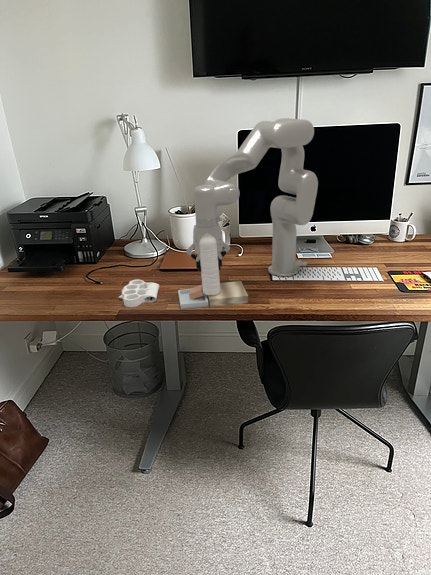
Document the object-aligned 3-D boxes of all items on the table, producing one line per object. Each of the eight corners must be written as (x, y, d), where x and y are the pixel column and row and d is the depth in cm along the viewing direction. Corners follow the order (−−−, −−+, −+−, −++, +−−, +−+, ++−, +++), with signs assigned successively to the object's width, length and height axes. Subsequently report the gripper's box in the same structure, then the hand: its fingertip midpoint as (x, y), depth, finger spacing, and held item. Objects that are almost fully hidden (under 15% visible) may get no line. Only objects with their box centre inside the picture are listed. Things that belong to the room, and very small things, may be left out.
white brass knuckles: (155, 307, 165) (115, 308, 165) (160, 286, 181) (123, 287, 181) (154, 298, 163) (114, 300, 163) (159, 278, 179) (122, 280, 179)
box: (204, 292, 173) (204, 287, 172) (208, 306, 162) (208, 301, 161) (178, 294, 172) (178, 290, 171) (180, 309, 161) (180, 304, 160)
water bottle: (222, 294, 163) (217, 228, 152) (204, 297, 162) (198, 231, 151) (217, 284, 171) (212, 221, 160) (200, 286, 170) (194, 223, 159)
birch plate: (241, 287, 175) (240, 280, 174) (248, 303, 163) (248, 295, 162) (205, 291, 174) (205, 284, 172) (210, 307, 162) (209, 299, 161)
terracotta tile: (205, 289, 170) (203, 284, 169) (203, 295, 165) (200, 290, 164) (193, 293, 171) (191, 288, 170) (191, 299, 167) (188, 294, 166)
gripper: (229, 216, 159) (231, 263, 167) (180, 220, 157) (184, 267, 165) (233, 222, 153) (234, 271, 160) (182, 227, 151) (186, 275, 158)
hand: (209, 268), depth 163 cm, fingers closed on water bottle, 6 cm apart
